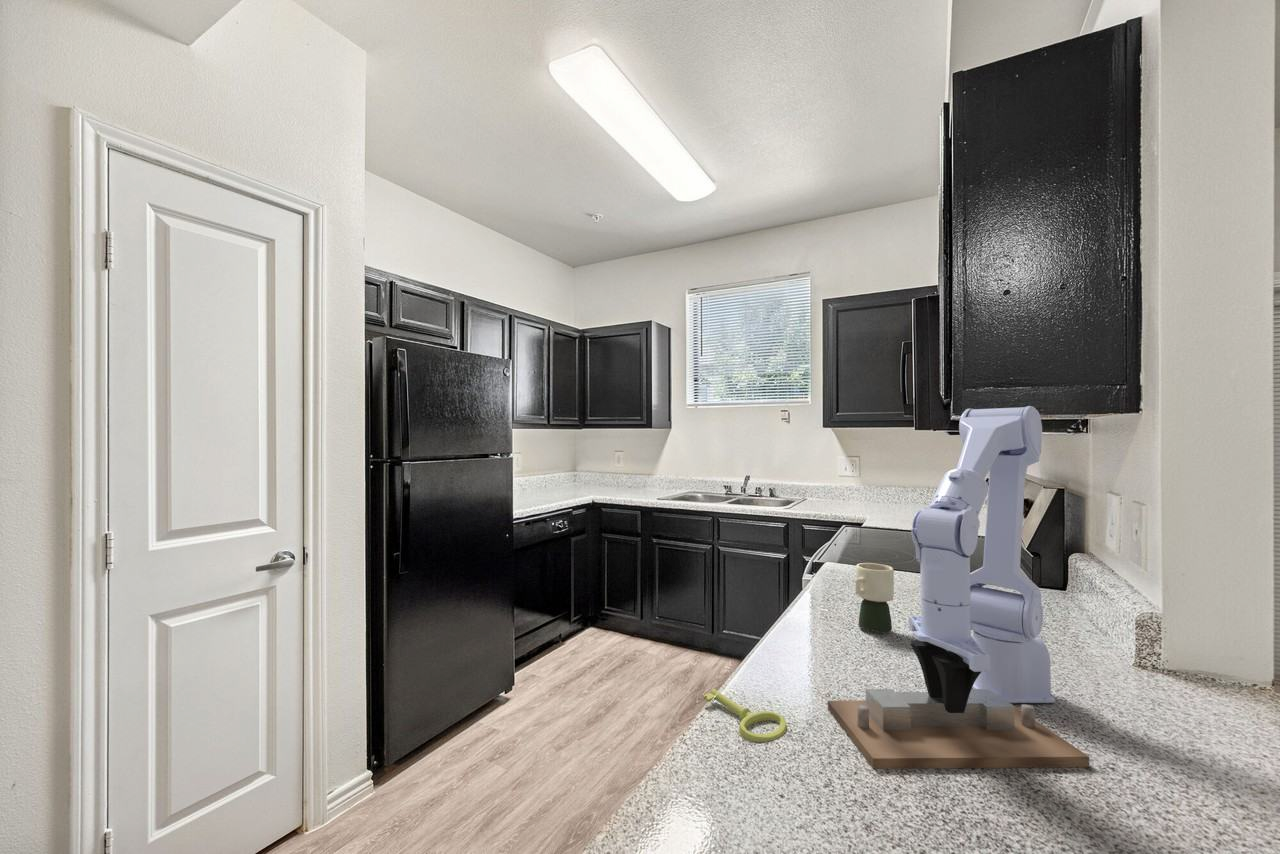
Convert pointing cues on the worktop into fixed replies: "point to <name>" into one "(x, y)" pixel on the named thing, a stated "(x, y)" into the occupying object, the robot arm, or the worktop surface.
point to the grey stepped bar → (937, 710)
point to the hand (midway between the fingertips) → (946, 704)
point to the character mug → (875, 595)
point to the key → (750, 718)
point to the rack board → (956, 743)
